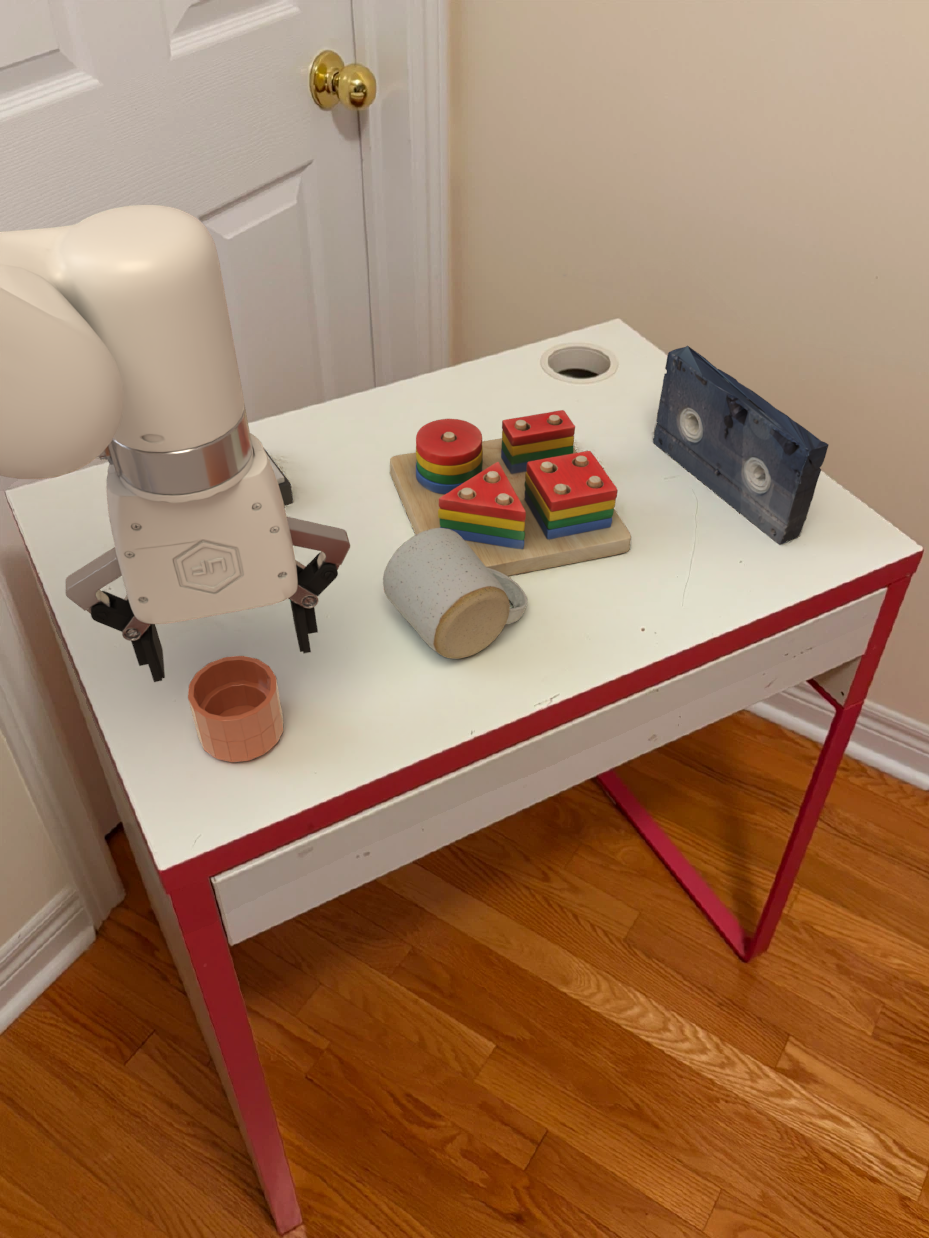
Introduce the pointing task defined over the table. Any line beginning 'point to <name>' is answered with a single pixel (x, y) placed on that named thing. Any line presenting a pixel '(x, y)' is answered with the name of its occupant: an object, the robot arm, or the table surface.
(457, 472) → the shape sorter
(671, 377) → the vhs cassette tape
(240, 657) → the terracotta pot
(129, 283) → the robot arm
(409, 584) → the ceramic mug
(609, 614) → the table surface
